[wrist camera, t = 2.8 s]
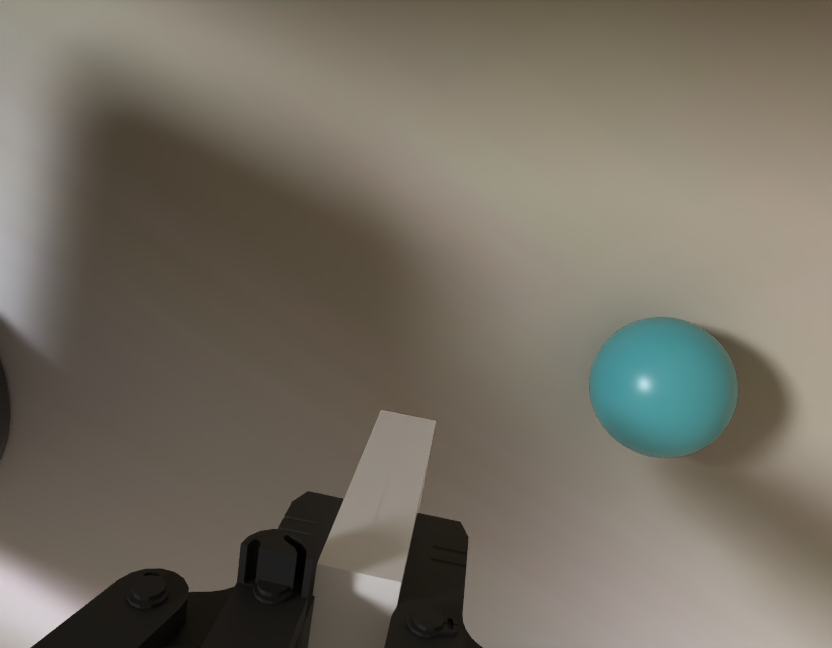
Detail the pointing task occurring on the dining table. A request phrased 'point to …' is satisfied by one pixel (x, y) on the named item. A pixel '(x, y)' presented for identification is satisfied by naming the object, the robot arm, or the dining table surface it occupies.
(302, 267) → the dining table surface
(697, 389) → the ball
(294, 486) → the dining table surface
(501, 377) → the dining table surface
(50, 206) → the dining table surface
